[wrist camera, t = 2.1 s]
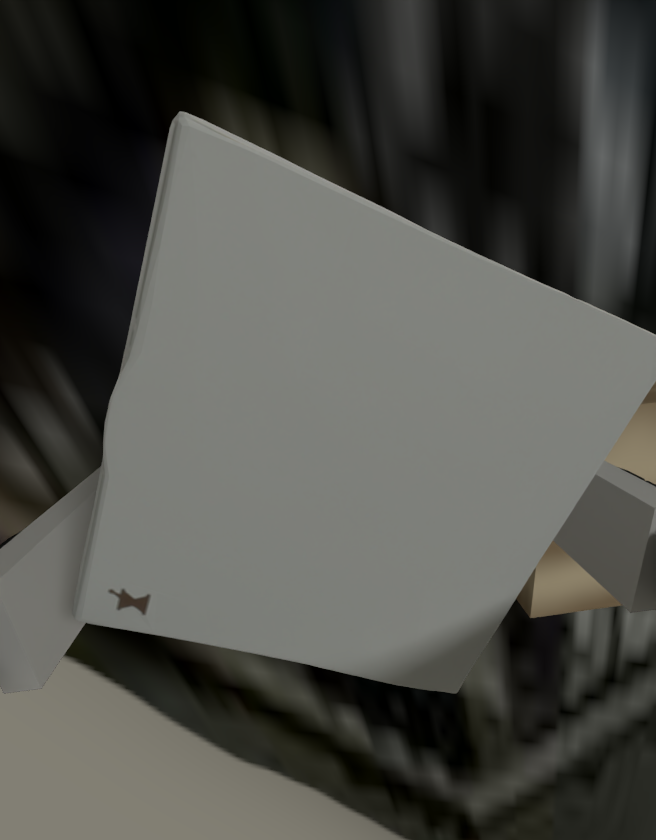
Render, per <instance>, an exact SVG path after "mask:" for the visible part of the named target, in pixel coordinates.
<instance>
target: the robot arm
mask: <svg viewBox="0 0 656 840" xmlns="http://www.w3.org/2000/svg"><path fill="white" fill-rule="evenodd" d="M100 469H101V467H100V468H98V469H97V470H96V471H95V472H93V473H92V474H91V475H90V476H89V477H87V478H86V479H85V480H84V481H83V482H81V483H80V484H79V485H78V486H76V487H75V488H74V489H73V490H72V491H70V492H69V493H68V494H67V495H65V496H64V497H63V498H62V499H61V500H59V501H58V502H57V503H56V504H54V505H53V506H52V507H51V508H50V509H48V510H47V511H46V512H45V513H43V514H42V515H41V516H40V517H39V518H37V519H36V520H35V521H34V522H32V523H31V524H30V525H29V526H28V527H26V528H25V529H24V530H23V531H21V532H19V533H17V534H15V535H14V536H12V537H10V538H8V539H7V540H6V541H5V542H3V543H2V544H1V545H0V687H1V689H2V691H3V693H11V692H20V691H28V690H35V689H41V688H42V687H43V685H44V684H45V682H46V681H47V679H48V678H49V676H50V675H51V673H52V672H53V671H54V669H55V668H56V666H57V665H58V663H59V662H60V660H61V659H62V657H63V656H64V654H65V653H66V651H67V650H68V648H69V647H70V645H71V644H72V642H73V641H74V639H75V638H76V636H77V635H78V633H79V632H80V630H81V629H82V627H83V626H84V624H85V622H80V621H77V620H75V619H74V617H73V614H72V609H73V603H74V597H75V592H76V587H77V582H78V576H79V571H80V565H81V560H82V556H83V551H84V547H85V542H86V538H87V533H88V529H89V524H90V520H91V515H92V511H93V506H94V501H95V496H96V490H97V485H98V480H99V474H100ZM553 541H554V542H555V543H556V544H557V545H558V546H559V547H560V548H562V549H563V550H564V551H565V552H566V553H567V554H568V555H569V556H570V557H571V558H572V559H573V560H574V561H576V562H577V563H578V564H579V565H580V566H581V567H582V568H583V569H584V570H585V571H586V572H587V573H588V574H590V575H591V576H592V577H593V578H594V579H595V580H596V581H597V582H598V583H599V584H600V585H601V586H602V587H604V588H605V589H606V590H607V591H608V592H609V593H610V594H611V595H612V596H613V597H614V598H615V599H616V600H618V601H619V602H620V603H621V604H622V605H623V606H624V607H625V608H626V609H627V610H628V611H629V612H630V613H633V612H640V611H648V610H656V484H654V483H652V482H650V481H645V479H644V478H642V477H640V476H638V475H636V474H634V473H632V472H630V471H628V470H625V469H622V468H619V467H616V466H614V465H612V464H610V463H608V462H606V461H604V462H603V463H602V465H601V466H600V468H599V470H598V471H597V473H596V474H595V476H594V477H593V479H592V480H591V482H590V484H589V485H588V487H587V488H586V490H585V491H584V493H583V494H582V496H581V498H580V499H579V501H578V502H577V504H576V505H575V507H574V509H573V510H572V512H571V513H570V515H569V516H568V518H567V519H566V521H565V523H564V524H563V526H562V527H561V529H560V530H559V532H558V533H557V535H556V536H555V538H554V539H553Z"/></svg>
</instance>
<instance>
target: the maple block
mask: <svg viewBox="0 0 656 840" xmlns="http://www.w3.org/2000/svg"><path fill="white" fill-rule="evenodd" d="M604 461H606V462H608V463H610V464H612V465H614V466H616V467H619V468H622V469H625V470H628V471H630V472H632V473H634V474H636V475H638V476H640V477H642V478H644V479H645V481H650V482H652V483H654V484H656V381H655V383H654V385H653V386H652V388H651V389H650V391H649V392H648V394H647V395H646V397H645V398H644V400H643V401H642V403H641V404H640V406H639V408H638V409H637V411H636V412H635V414H634V415H633V417H632V418H631V420H630V421H629V423H628V425H627V426H626V428H625V429H624V431H623V432H622V434H621V435H620V437H619V438H618V440H617V442H616V443H615V445H614V446H613V448H612V449H611V451H610V452H609V454H608V456H607V457H606V459H605V460H604ZM516 599H517V600H518V602H519V603H520V604H521V606H522V607H523V609H524V610H525V611H526V613H527V614H528V616H529V617H530V618H535V617H542V616H549V615H556V614H563V613H570V612H577V611H584V610H591V609H599V608H606V607H613V606H620V605H622V604H621V603H620V602H619V601H618V600H616V599H615V598H614V597H613V596H612V595H611V594H610V593H609V592H608V591H607V590H606V589H605V588H604V587H602V586H601V585H600V584H599V583H598V582H597V581H596V580H595V579H594V578H593V577H592V576H591V575H590V574H588V573H587V572H586V571H585V570H584V569H583V568H582V567H581V566H580V565H579V564H578V563H577V562H576V561H574V560H573V559H572V558H571V557H570V556H569V555H568V554H567V553H566V552H565V551H564V550H563V549H562V548H560V547H559V546H558V545H557V544H556V543H555V542H554V541H552V542H551V544H550V546H549V547H548V549H547V550H546V552H545V553H544V555H543V556H542V558H541V559H540V561H539V562H538V564H537V566H536V567H535V569H534V570H533V572H532V574H531V575H530V577H529V578H528V580H527V582H526V583H525V585H524V586H523V588H522V590H521V591H520V593H519V594H518V596H517V598H516Z"/></svg>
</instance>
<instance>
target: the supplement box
mask: <svg viewBox="0 0 656 840" xmlns="http://www.w3.org/2000/svg"><path fill="white" fill-rule="evenodd" d="M655 381H656V335H655V334H653V333H651V332H648V331H646V330H644V329H642V328H640V327H638V326H636V325H633V324H631V323H629V322H627V321H625V320H623V319H621V318H619V317H617V316H614V315H612V314H610V313H608V312H605V311H603V310H601V309H598V308H596V307H594V306H592V305H590V304H588V303H586V302H584V301H581V300H578V299H575V298H573V297H571V296H569V295H567V294H566V293H563V292H561V291H559V290H556V289H554V288H551V287H549V286H547V285H545V284H542V283H540V282H538V281H535V280H533V279H531V278H529V277H526V276H524V275H522V274H520V273H518V272H516V271H514V270H512V269H509V268H507V267H505V266H503V265H501V264H499V263H496V262H494V261H492V260H490V259H488V258H485V257H483V256H481V255H479V254H476V253H474V252H472V251H470V250H468V249H466V248H464V247H462V246H460V245H457V244H455V243H453V242H451V241H449V240H447V239H445V238H443V237H441V236H439V235H437V234H434V233H432V232H430V231H428V230H426V229H424V228H422V227H420V226H418V225H416V224H415V223H413V222H411V221H409V220H407V219H405V218H403V217H401V216H399V215H397V214H395V213H393V212H391V211H389V210H387V209H385V208H383V207H381V206H379V205H377V204H375V203H373V202H371V201H369V200H367V199H365V198H362V197H360V196H358V195H356V194H354V193H352V192H350V191H348V190H346V189H344V188H342V187H340V186H338V185H336V184H333V183H331V182H329V181H327V180H325V179H323V178H321V177H319V176H317V175H315V174H313V173H311V172H309V171H307V170H305V169H303V168H301V167H299V166H297V165H295V164H293V163H291V162H289V161H287V160H285V159H283V158H281V157H279V156H277V155H275V154H273V153H271V152H269V151H267V150H265V149H263V148H261V147H259V146H257V145H254V144H252V143H250V142H248V141H246V140H244V139H242V138H240V137H238V136H236V135H234V134H232V133H230V132H228V131H225V130H223V129H221V128H219V127H217V126H215V125H213V124H211V123H209V122H207V121H205V120H203V119H200V118H198V117H195V116H193V115H191V114H188V113H186V112H179V113H178V114H177V116H176V117H175V118H174V120H173V121H172V124H171V127H170V130H169V135H168V140H167V145H166V150H165V155H164V160H163V165H162V170H161V175H160V180H159V185H158V190H157V195H156V200H155V205H154V210H153V215H152V219H151V224H150V229H149V234H148V239H147V244H146V249H145V254H144V259H143V264H142V269H141V274H140V279H139V284H138V289H137V294H136V298H135V303H134V308H133V313H132V319H131V323H130V328H129V333H128V337H127V342H126V347H125V351H124V356H123V361H122V365H121V370H120V374H119V378H118V380H117V383H116V385H115V388H114V391H113V393H112V396H111V398H110V402H109V407H108V411H107V415H106V420H105V427H104V439H103V459H102V464H101V469H100V474H99V480H98V485H97V490H96V496H95V501H94V506H93V511H92V515H91V520H90V524H89V529H88V533H87V538H86V542H85V547H84V551H83V556H82V560H81V565H80V571H79V576H78V582H77V587H76V592H75V597H74V603H73V609H72V614H73V617H74V619H75V620H77V621H80V622H85V623H89V624H95V625H101V626H106V627H112V628H119V629H125V630H130V631H136V632H142V633H147V634H153V635H159V636H164V637H170V638H175V639H181V640H186V641H191V642H197V643H202V644H207V645H212V646H218V647H223V648H228V649H233V650H238V651H244V652H249V653H254V654H259V655H264V656H269V657H274V658H279V659H284V660H289V661H293V662H298V663H303V664H308V665H312V666H316V667H320V668H324V669H329V670H334V671H338V672H342V673H346V674H351V675H355V676H360V677H364V678H368V679H372V680H377V681H381V682H385V683H390V684H394V685H399V686H406V687H412V688H418V689H424V690H431V691H442V692H448V693H457V692H458V691H459V689H460V687H461V685H462V684H463V682H464V680H465V679H466V677H467V675H468V674H469V672H470V670H471V669H472V667H473V666H474V664H475V663H476V661H477V659H478V658H479V656H480V655H481V653H482V652H483V650H484V648H485V647H486V645H487V644H488V642H489V641H490V639H491V637H492V636H493V634H494V633H495V631H496V630H497V628H498V626H499V625H500V623H501V622H502V620H503V618H504V617H505V615H506V614H507V612H508V610H509V609H510V607H511V606H512V604H513V602H514V601H515V599H516V598H517V596H518V594H519V593H520V591H521V590H522V588H523V586H524V585H525V583H526V582H527V580H528V578H529V577H530V575H531V574H532V572H533V570H534V569H535V567H536V566H537V564H538V562H539V561H540V559H541V558H542V556H543V555H544V553H545V552H546V550H547V549H548V547H549V546H550V544H551V542H552V541H553V539H554V538H555V536H556V535H557V533H558V532H559V530H560V529H561V527H562V526H563V524H564V523H565V521H566V519H567V518H568V516H569V515H570V513H571V512H572V510H573V509H574V507H575V505H576V504H577V502H578V501H579V499H580V498H581V496H582V494H583V493H584V491H585V490H586V488H587V487H588V485H589V484H590V482H591V480H592V479H593V477H594V476H595V474H596V473H597V471H598V470H599V468H600V466H601V465H602V463H603V462H604V460H605V459H606V457H607V456H608V454H609V452H610V451H611V449H612V448H613V446H614V445H615V443H616V442H617V440H618V438H619V437H620V435H621V434H622V432H623V431H624V429H625V428H626V426H627V425H628V423H629V421H630V420H631V418H632V417H633V415H634V414H635V412H636V411H637V409H638V408H639V406H640V404H641V403H642V401H643V400H644V398H645V397H646V395H647V394H648V392H649V391H650V389H651V388H652V386H653V385H654V383H655Z"/></svg>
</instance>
